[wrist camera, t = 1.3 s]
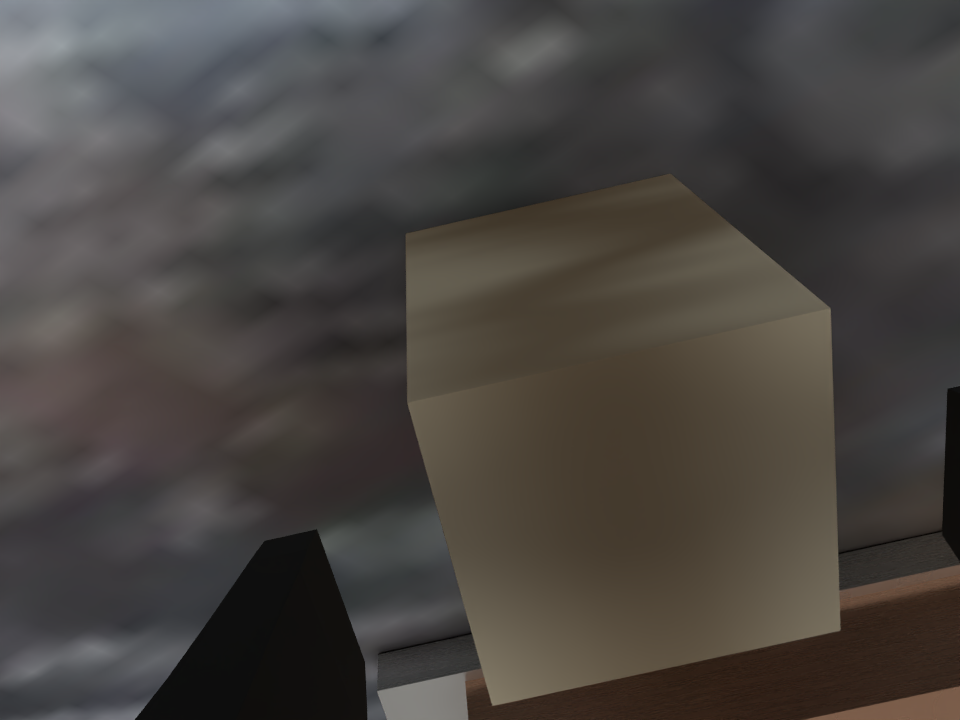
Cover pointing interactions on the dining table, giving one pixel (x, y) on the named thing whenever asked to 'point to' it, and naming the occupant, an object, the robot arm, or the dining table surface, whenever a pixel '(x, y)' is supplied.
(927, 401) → the dining table surface
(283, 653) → the robot arm
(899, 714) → the orange-brown socket block
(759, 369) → the birch block
